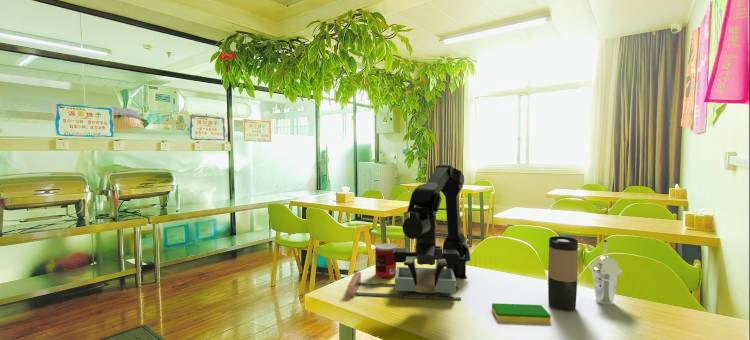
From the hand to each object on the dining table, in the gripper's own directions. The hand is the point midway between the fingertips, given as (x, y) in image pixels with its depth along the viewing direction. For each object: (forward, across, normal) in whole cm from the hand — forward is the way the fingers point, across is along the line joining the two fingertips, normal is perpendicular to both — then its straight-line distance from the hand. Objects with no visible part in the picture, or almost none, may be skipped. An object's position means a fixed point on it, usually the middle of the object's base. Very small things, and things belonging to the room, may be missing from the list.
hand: (425, 285), depth 104 cm
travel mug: (+7, +40, +7) cm, 41 cm away
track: (+7, -6, +13) cm, 16 cm away
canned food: (+7, -14, +28) cm, 32 cm away
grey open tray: (+7, 0, +13) cm, 15 cm away
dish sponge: (+8, +26, -1) cm, 27 cm away
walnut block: (+1, 0, 0) cm, 1 cm away
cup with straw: (+7, +54, +12) cm, 56 cm away
